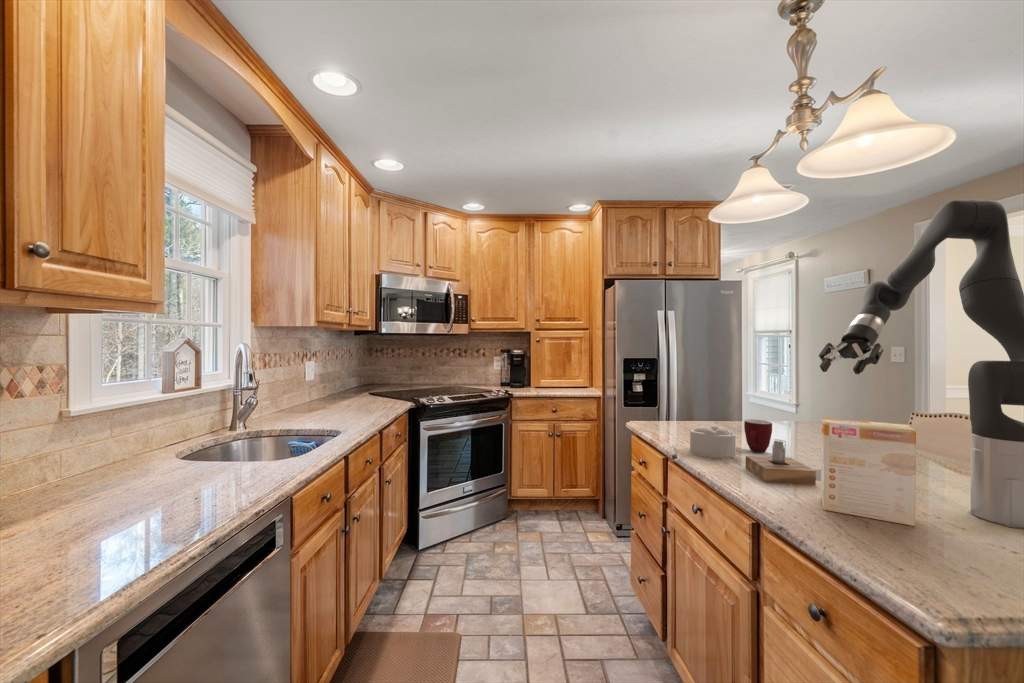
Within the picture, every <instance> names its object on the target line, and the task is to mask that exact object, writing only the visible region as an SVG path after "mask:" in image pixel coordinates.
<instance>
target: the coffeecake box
mask: <svg viewBox="0 0 1024 683" xmlns="http://www.w3.org/2000/svg"><path fill="white" fill-rule="evenodd" d="M820 428H821V429H820V431H821V435H820V436H821V439H820V441H821V445H820V446H821V450H820V452H821V453H820V454H821V455H820V458H821V459H820V461H821V462H820V470H821V481H820V501H821V502H820V503H821V504H822V508H823V511H829V512H834V513H840V514H846V515H852V516H855V517H856V516H857V517H861V518H862V517H863V518H867V519H873V520H878V521H879V520H880V521H885V522H889V523H894V524H900V525H906V526H912V527H916V517H917V516H916V513H917V512H916V509H917V508H916V505H917V504H916V485H917V484H916V481H917V480H916V479H917V477H916V474H917V471H916V470H917V468H916V467H917V466H916V465H917V458H916V457H917V455H916V454H917V453H916V452H917V445H916V444H917V430H916V429H915V428H913V427H911V426H910V425H909V424H903V423H891V422H890V423H889V422H878V421H866V420H865V421H864V420H851V419H844V418H843V419H841V418H830V417H827V418H826V417H822V418H821V427H820Z"/></svg>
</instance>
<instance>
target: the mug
mask: <svg viewBox="0 0 1024 683" xmlns="http://www.w3.org/2000/svg"><path fill="white" fill-rule="evenodd" d="M743 424H744V425H743V426H744V433H745V434H744V435H745V440H746V444H747V446H748V447H749V449H750V451H751V452H752V453H758V454H764V453H765V452H766V451H767V449H768V448H769V446H770V443H771V439H772V434H773V422H772V421H768V420H761V419H745V420H744V423H743Z"/></svg>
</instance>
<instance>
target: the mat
mask: <svg viewBox="0 0 1024 683" xmlns="http://www.w3.org/2000/svg"><path fill="white" fill-rule="evenodd" d="M814 470H815V471H816V482H817V481H819V482H821V469H814Z"/></svg>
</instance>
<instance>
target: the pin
mask: <svg viewBox="0 0 1024 683" xmlns="http://www.w3.org/2000/svg"><path fill="white" fill-rule="evenodd" d="M771 442H772V444H771V445H772V447H771V448H772V450H771V451H772V454H771V455H772V456H771V457H772V464H774V465H785V458H786V440H783V439H772V441H771Z"/></svg>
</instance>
